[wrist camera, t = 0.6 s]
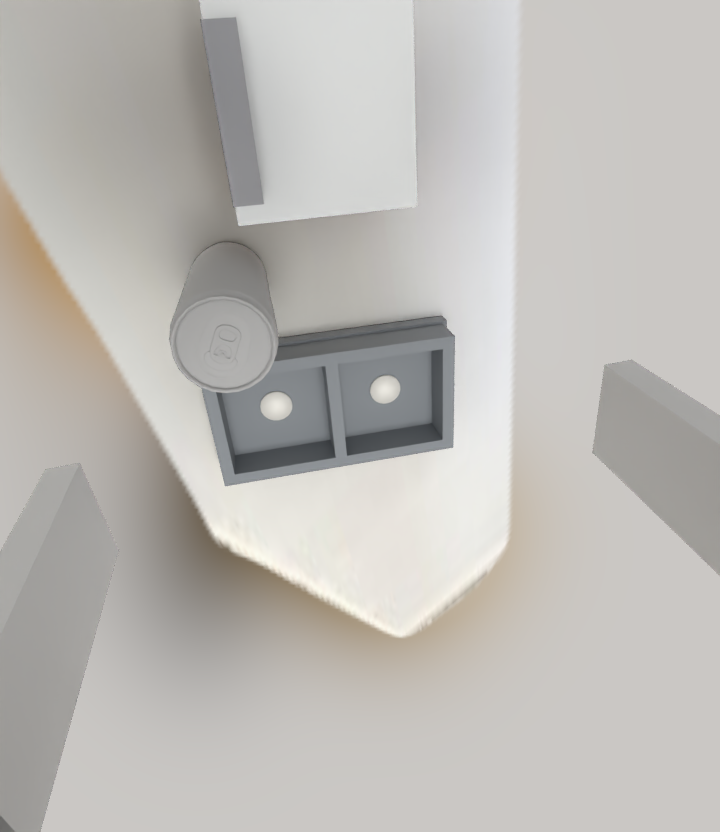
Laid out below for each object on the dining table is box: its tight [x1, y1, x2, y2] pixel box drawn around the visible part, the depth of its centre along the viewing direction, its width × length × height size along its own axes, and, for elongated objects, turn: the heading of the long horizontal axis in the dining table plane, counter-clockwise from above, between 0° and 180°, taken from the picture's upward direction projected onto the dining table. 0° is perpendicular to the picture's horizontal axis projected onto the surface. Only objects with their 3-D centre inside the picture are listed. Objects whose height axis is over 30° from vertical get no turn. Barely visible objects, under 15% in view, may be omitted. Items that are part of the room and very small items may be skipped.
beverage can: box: [169, 242, 279, 393], centre depth 29 cm, size 5×5×12 cm
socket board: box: [202, 316, 455, 486], centre depth 38 cm, size 9×17×4 cm, turn 94°
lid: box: [199, 0, 418, 226], centre depth 25 cm, size 9×9×3 cm
